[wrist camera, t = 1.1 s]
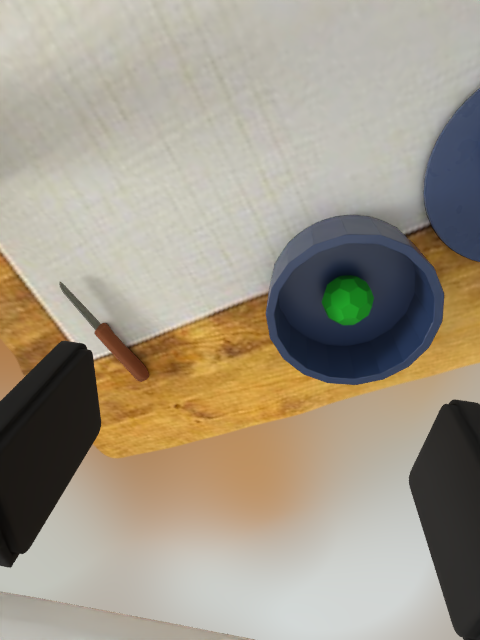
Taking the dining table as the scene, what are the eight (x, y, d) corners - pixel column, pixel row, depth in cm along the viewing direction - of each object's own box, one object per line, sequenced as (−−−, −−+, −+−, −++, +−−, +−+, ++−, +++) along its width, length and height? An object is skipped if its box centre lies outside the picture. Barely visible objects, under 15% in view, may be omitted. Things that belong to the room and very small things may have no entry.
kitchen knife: (152, 372, 49) (147, 381, 47) (144, 375, 50) (139, 385, 48) (67, 275, 44) (58, 282, 42) (59, 281, 44) (50, 288, 42)
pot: (346, 179, 35) (356, 193, 29) (456, 284, 38) (483, 314, 33) (241, 292, 42) (232, 320, 36) (341, 372, 45) (348, 408, 40)
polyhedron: (369, 266, 38) (378, 285, 34) (368, 309, 40) (376, 332, 36) (319, 270, 39) (322, 290, 35) (321, 312, 41) (323, 334, 37)
